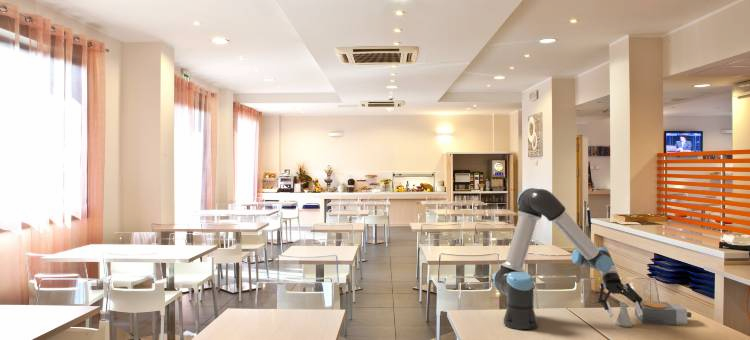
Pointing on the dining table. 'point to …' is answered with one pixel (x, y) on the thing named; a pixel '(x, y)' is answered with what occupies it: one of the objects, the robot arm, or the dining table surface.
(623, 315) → the flask
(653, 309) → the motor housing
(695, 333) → the dining table surface
